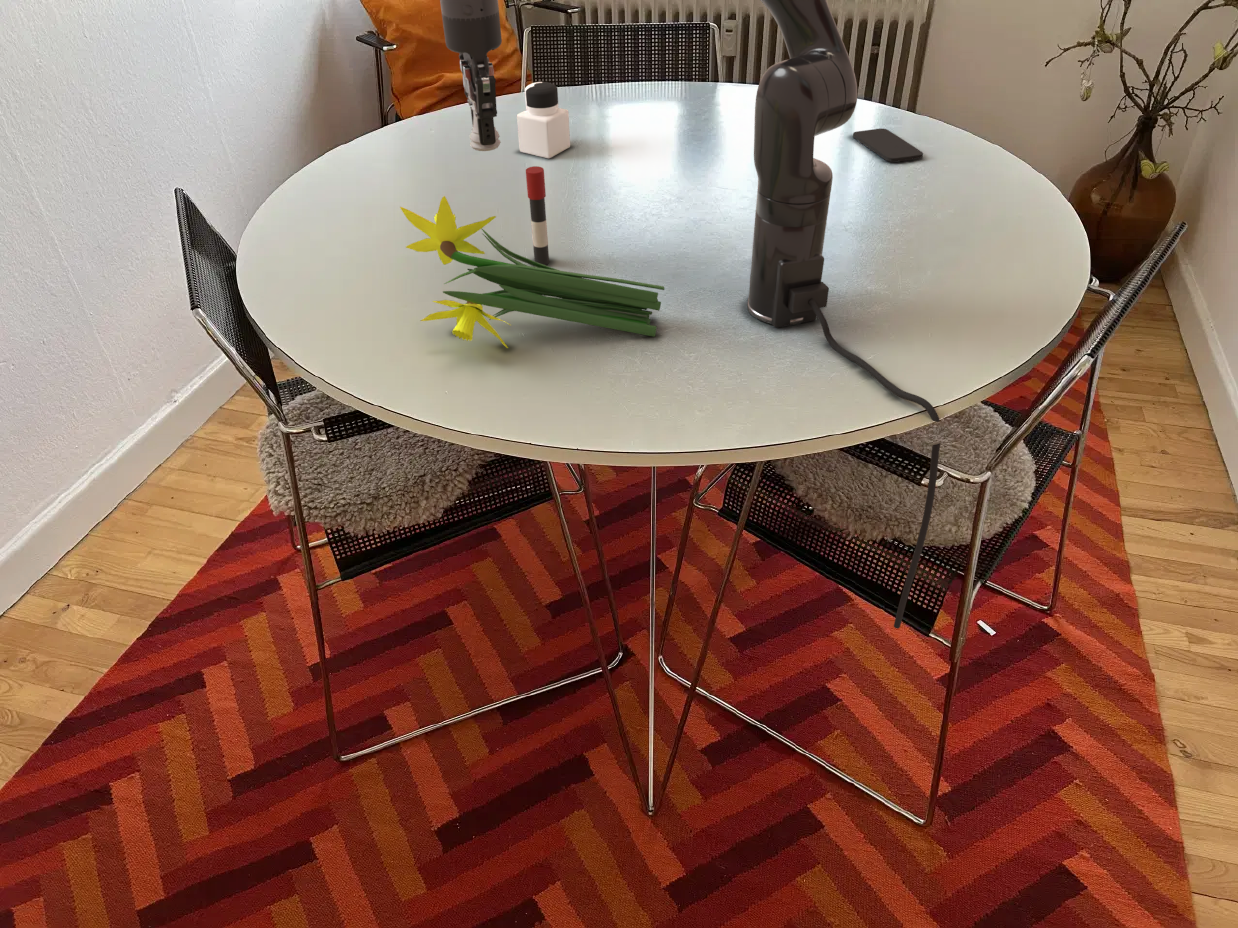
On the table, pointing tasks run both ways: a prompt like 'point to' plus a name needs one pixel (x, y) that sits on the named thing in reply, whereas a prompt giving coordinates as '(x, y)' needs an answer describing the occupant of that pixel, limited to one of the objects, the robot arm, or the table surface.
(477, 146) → the rook chess piece
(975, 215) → the table surface
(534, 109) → the medicine bottle
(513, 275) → the daffodil flowers
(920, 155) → the phone
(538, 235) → the marker
